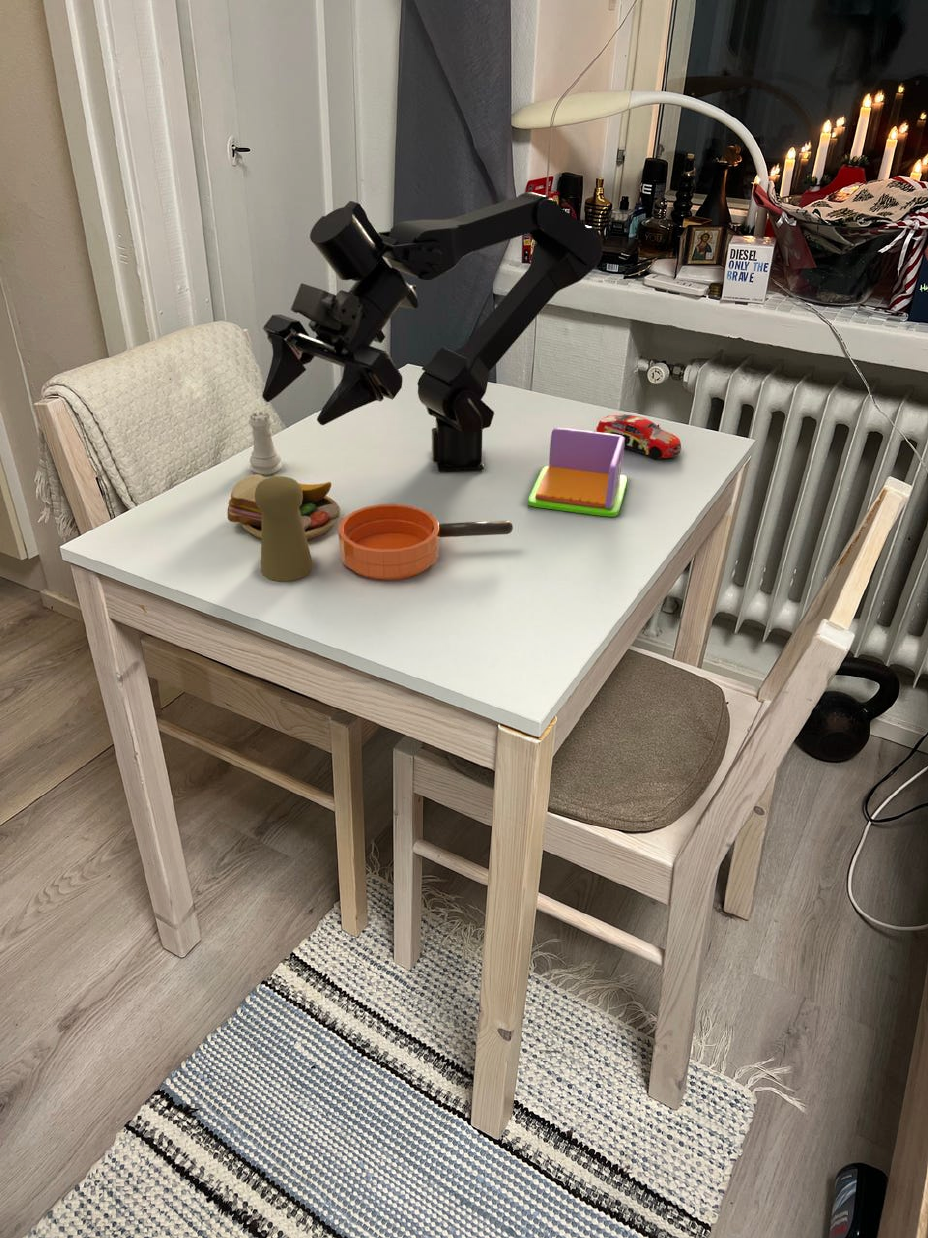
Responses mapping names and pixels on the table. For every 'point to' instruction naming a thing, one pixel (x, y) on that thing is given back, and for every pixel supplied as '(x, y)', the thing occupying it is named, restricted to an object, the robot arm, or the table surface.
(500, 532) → the pan handle
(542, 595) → the table surface
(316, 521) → the toy sandwich meal
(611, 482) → the toy room diorama
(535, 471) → the table surface
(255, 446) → the rook chess piece
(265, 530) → the cork
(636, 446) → the race car
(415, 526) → the pan
